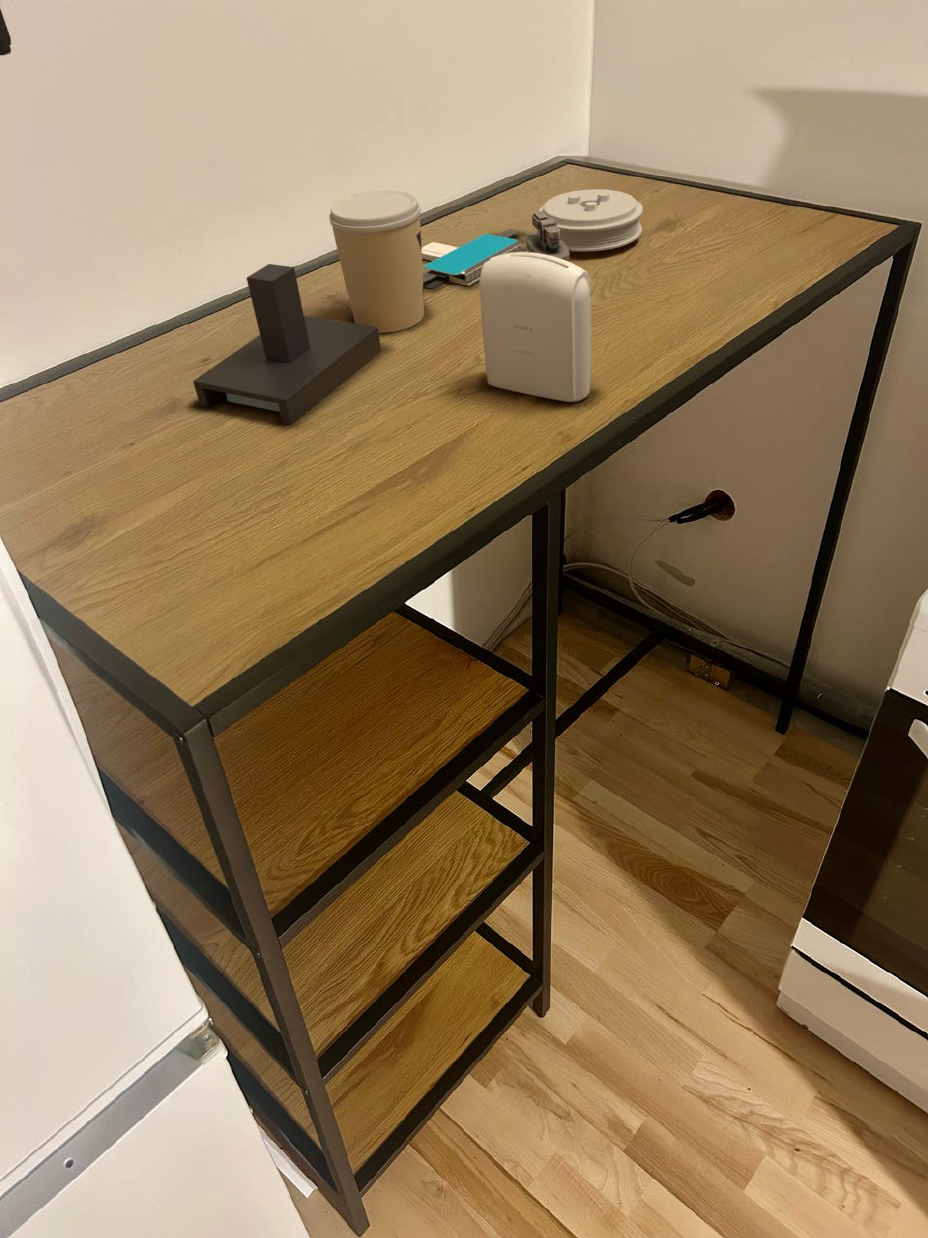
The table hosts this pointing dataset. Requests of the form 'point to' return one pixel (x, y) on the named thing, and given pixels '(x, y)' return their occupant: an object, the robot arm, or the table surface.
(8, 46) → the robot arm
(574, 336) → the photo printer
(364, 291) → the coffee cup
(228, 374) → the cover
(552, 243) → the lighter
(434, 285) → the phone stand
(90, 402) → the table surface
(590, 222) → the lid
